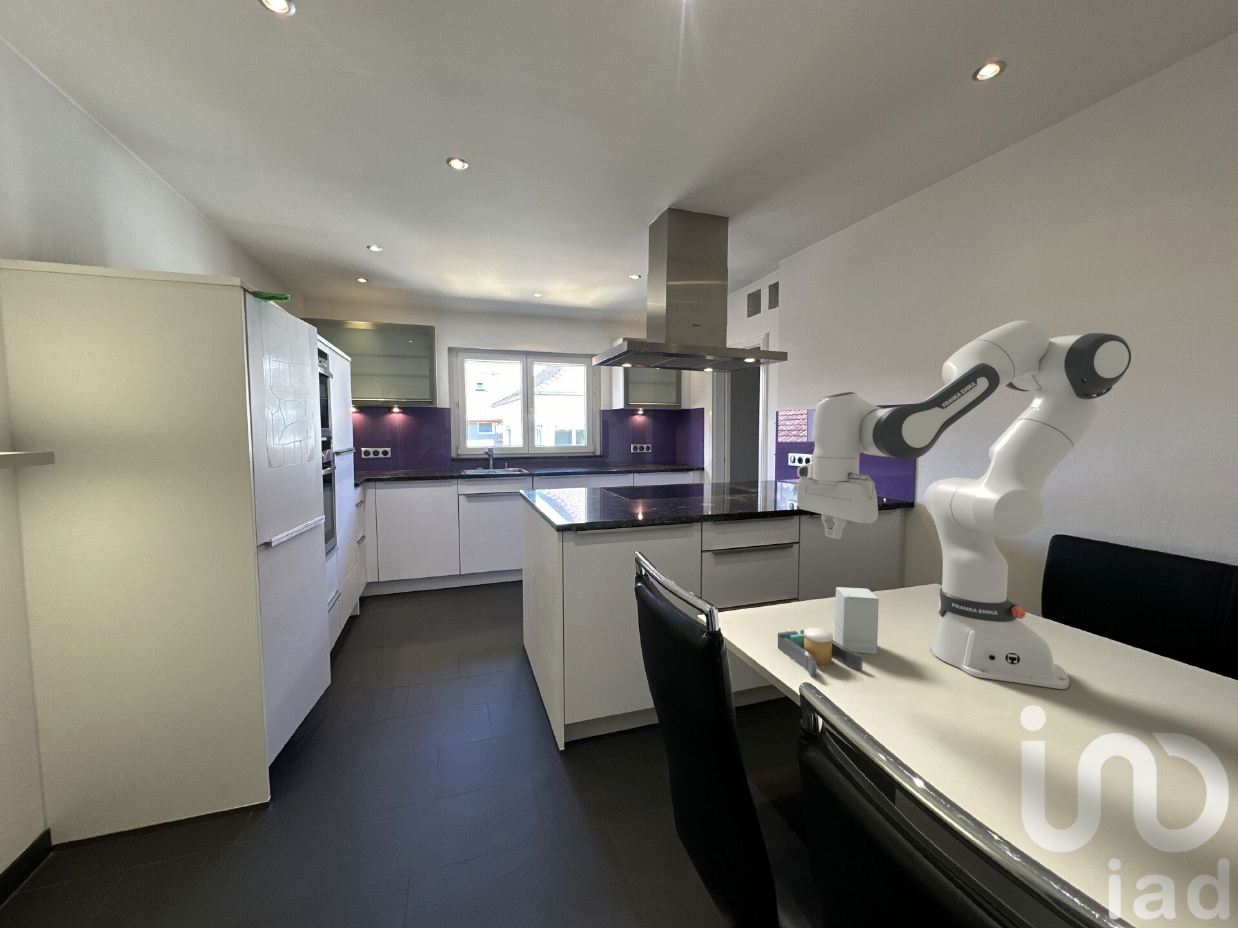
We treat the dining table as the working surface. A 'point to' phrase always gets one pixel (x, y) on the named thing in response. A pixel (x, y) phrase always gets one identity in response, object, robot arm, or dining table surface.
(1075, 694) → the dining table surface
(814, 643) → the amber jar
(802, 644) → the teal open box
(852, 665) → the lane
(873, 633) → the supplement box
